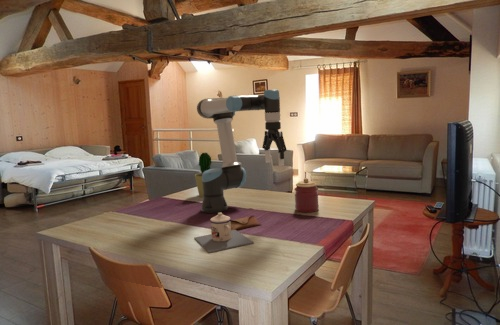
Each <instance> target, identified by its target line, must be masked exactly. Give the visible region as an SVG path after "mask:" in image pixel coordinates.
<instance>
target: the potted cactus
mask: <svg viewBox="0 0 500 325" xmlns="http://www.w3.org/2000/svg"><path fill="white" fill-rule="evenodd" d="M198 165H199V166H198V167H199V169H200V172H199V173H196V174H194V177H195V178H194V180H195V182H196V188H197V192H198V195H199V198H203V184H202V174H203V172H204V171H206V170H209V169H212V168H211V166H212V156H211V155H210V154H209V153H208V152H201V153H200V155H199V157H198Z"/></svg>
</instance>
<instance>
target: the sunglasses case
mask: <svg viewBox="0 0 500 325" xmlns="http://www.w3.org/2000/svg"><path fill="white" fill-rule="evenodd" d="M230 223H231V230H237V231H241V230H245V229H248V228H254V227H258V226H262V224H261V223H260V222H259V221H258V220H257V218H256V217H255V216H254V215H250V216H247V217H246V216H245V217H241V218H236V219H231V221H230Z"/></svg>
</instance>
